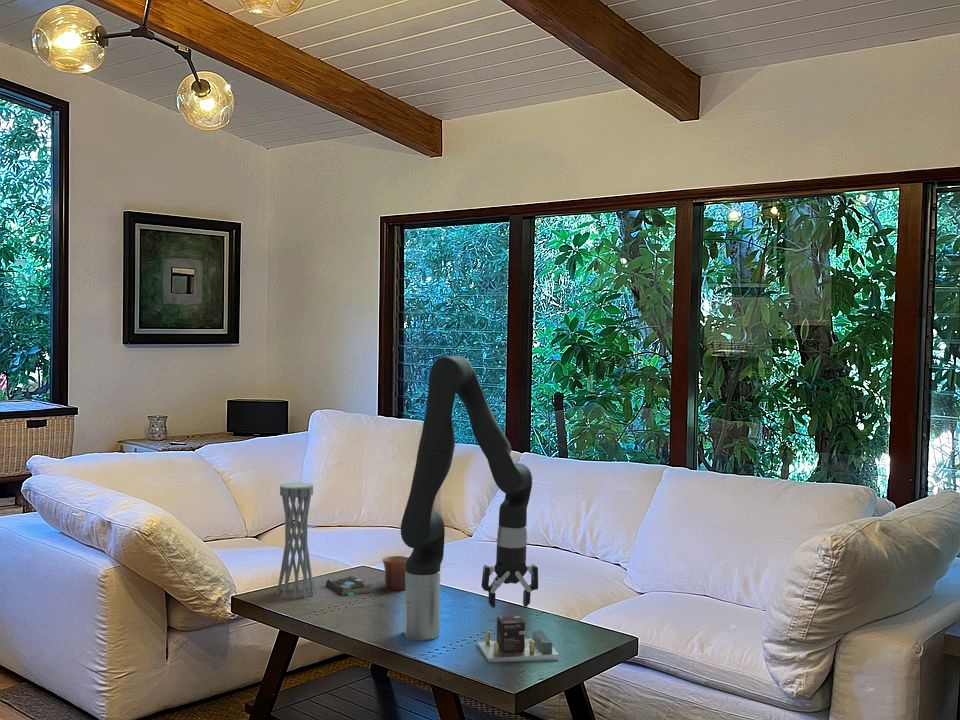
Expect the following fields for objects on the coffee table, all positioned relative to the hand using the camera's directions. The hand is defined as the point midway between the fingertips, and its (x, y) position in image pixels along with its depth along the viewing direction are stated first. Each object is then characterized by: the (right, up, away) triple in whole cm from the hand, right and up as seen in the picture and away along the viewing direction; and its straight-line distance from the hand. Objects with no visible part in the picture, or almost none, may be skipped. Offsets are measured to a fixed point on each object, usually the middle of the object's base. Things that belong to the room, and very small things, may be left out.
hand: (509, 606), depth 245 cm
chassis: (+2, -12, +1) cm, 12 cm away
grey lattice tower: (-63, -10, +46) cm, 79 cm away
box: (0, -11, 0) cm, 11 cm away
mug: (-34, -10, +59) cm, 69 cm away
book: (-47, -11, +53) cm, 71 cm away
